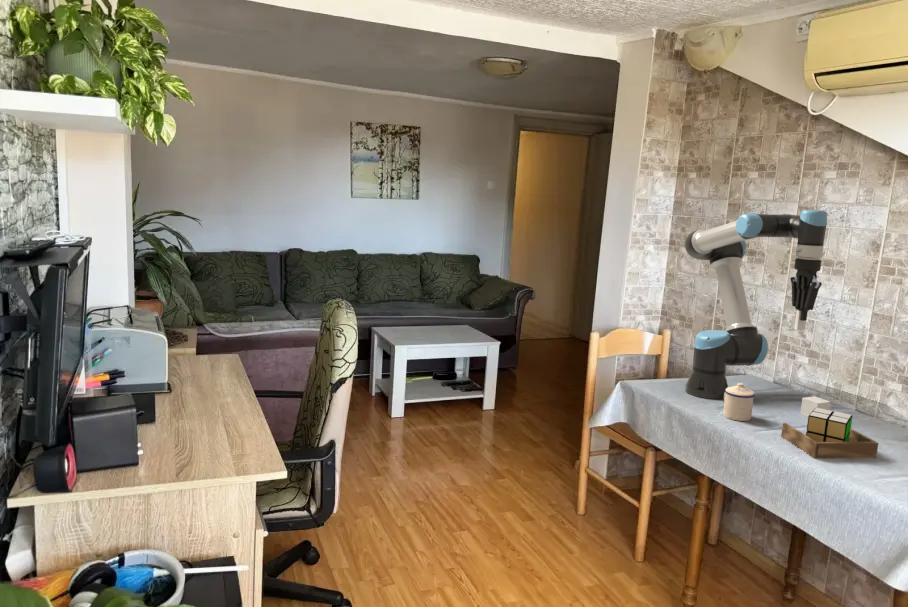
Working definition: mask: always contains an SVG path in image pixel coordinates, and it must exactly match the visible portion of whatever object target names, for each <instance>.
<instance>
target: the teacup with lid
mask: <svg viewBox="0 0 908 607" xmlns="http://www.w3.org/2000/svg"><path fill="white" fill-rule="evenodd" d="M755 395H756V394H755V392H754V391H753V390H751V389H749V388H747V387H746V386H745V385H744V383H742V382H738V383H737V385H733V386H728V388H726V390H725V393H724V398H723V400H724V401H723V402H724V405H723V414H722V415H723V416H724V417H725V418H727V419H729V420H733V421H738V422H748V421H750V420H751V419H752V413H753V403H754V397H755Z"/></svg>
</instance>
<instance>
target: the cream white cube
mask: <svg viewBox="0 0 908 607" xmlns="http://www.w3.org/2000/svg"><path fill="white" fill-rule="evenodd" d="M815 408H821V409H826V410H830V411H831V401H830V400H827V399H824V398H821V397H820V396H819V397H818V396H815V395H814V396H808V397H807V396H806V397H802V398H801V406H800V415H801V416H803V417H807V418H808V416H809V415H810V414H811V412H812V411H813V410H814V409H815Z"/></svg>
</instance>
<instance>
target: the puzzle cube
mask: <svg viewBox="0 0 908 607" xmlns="http://www.w3.org/2000/svg"><path fill="white" fill-rule="evenodd" d="M852 422H853V415H852V414H849V413H844V412H839V411H833V410H831V409H830V410H826V409H821V408H815V409H814V410H813V411H812V412H811V414H810V415H809V416H808V417H807V424H806V425H807V426H806V432H805V435H806V436H808V437H810V438H811V439H813V440H814V441H816V442H849V437H850V430H851V429H852Z"/></svg>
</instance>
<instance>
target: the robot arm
mask: <svg viewBox="0 0 908 607" xmlns="http://www.w3.org/2000/svg"><path fill="white" fill-rule="evenodd" d="M827 225H828V212H827V211H825V210H821V209H820V210H817V209H803V210H801V212H800V215H798V214H797V215H795V214H789V213H783V214H769V213H767V214H766V213H764V214H761V213H747V214H746V213H743V214H742V215H740V216H739V218H737V220H734V221H731V222H728V223H726V224H722V225H718V226H715V227H712V228H709V229H705V228H700V229H697V230H693V231H692V232H690V233H689V234H688V235H687V236H686V238H685V240H684V249H685V251H686V253H687V254H688V255H689V257H692V258H693V259H696V260H701V261H702V260H703V261H709V265H710V268H711V269H712V270H715V274H716V278H717V285H718V289H719V294H720V298H721V303H722V308H723V313H724V314H723V315H724V318H725V323H726V329H725V330H722V329H717V330H716V329H707V330H706V329H705V330H703V331H699V332H698V333H697V334H696V336H695V340H694V344H693V348H694V349H693V359H692V369H691V372H690V375H689V377H688V379H687V380H686V383H685V389H684V390H685V392H686V393H688V394H689V395H692V396H693V397H694V396H695V397H698V398H703V399H709V400H721V399H723V400H724V393H725V390H726V388H728V387H729V385H728V381H727V377H726V376H727V374H726V373H727V372H726V371H727V366H728V367H732V366H733V367H734V366H740V367H741V366H747V367H750V366H756V365H760V364H761V363H763V361H764V360H765V359H766V357H767V355H768V351H769V350H768V349H769V343H768V340H767V337H765V335H763V334H761V333H759V331H758V328H757V326H756V325H754V324H753V323H752V321H751V315H750V311H749V306H748V301H747V296H746V292H745V288H744V287H745V286H744V282H743V279H742V273H741V270H740V268H741V267H740V264H742V262H743V258H744V257H745V256H746V250H747V243H746V241H748V240H752V239H755V238H790V239H792V238H793V239H797V242H796V244H797V245H796V254H795V256H796V258H795V259H794V267H793V268H794V270H796V273H795V276H791V277H789V278H790V284H791V304H792V305H791V306H792V307H794V308H795V315H794V316H795V317H794V318H795V320H794V321H795V322H794V328H793V329H794V330H795V331H805V329H806V323H807V318H808V312H809V311H812V310H814V306H815V303H816V301H817V296H818V293H819V290H820V288H821V286H822V282H820V281H818V280H817V279H818V275H817V272H820V271H821V269H822V262H823V261H822V258H823V255H824V244H825V238H826V231H827Z"/></svg>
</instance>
